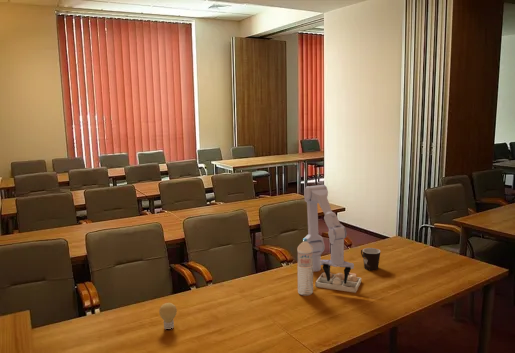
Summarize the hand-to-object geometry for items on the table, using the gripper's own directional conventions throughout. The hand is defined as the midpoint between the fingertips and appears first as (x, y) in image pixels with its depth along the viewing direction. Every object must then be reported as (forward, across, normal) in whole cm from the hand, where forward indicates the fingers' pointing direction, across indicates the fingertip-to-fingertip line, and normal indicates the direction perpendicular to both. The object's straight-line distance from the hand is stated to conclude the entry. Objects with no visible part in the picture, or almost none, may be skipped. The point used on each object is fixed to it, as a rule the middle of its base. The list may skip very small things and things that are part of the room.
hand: (337, 281), depth 197 cm
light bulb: (+4, -51, -57) cm, 77 cm away
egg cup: (+3, +3, +14) cm, 15 cm away
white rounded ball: (+3, 0, 0) cm, 3 cm away
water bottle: (+4, -12, -9) cm, 15 cm away
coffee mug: (+4, +10, +29) cm, 31 cm away
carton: (+3, 0, +3) cm, 5 cm away
